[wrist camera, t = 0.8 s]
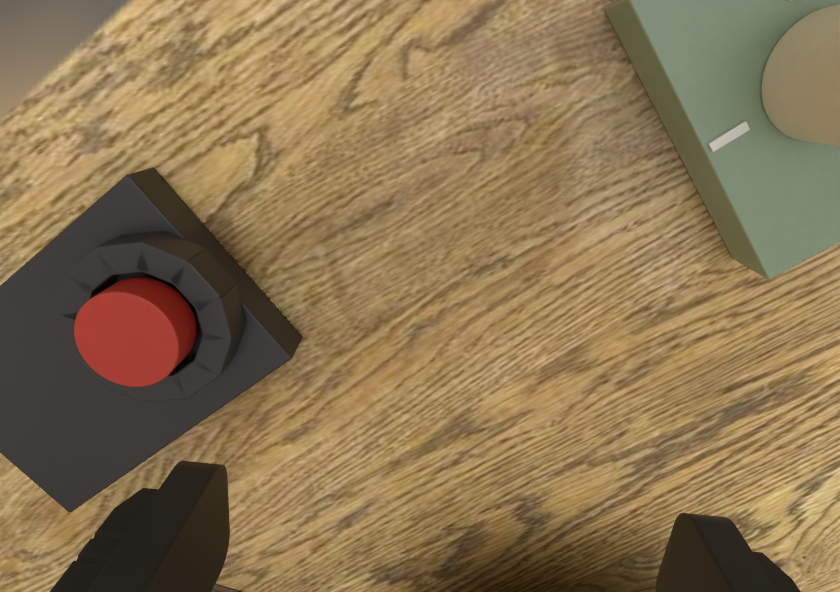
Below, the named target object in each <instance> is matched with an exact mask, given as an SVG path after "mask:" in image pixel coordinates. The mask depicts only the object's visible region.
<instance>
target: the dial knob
mask: <svg viewBox="0 0 840 592" xmlns="http://www.w3.org/2000/svg"><path fill="white" fill-rule="evenodd" d="M761 91H762V100H763V105H764V108H765V111H766V114H767V115H768V117H769V119H770V121H771V122H772V123H773V125H774V126H775V127H776V128H777V129H778V130H779V131H781V132H782V133H784V134H785V135H787V136H789V137H791V138H793V139H796V140H800V141H806V142H812V143H818V144H825V145H831V146H838V147H840V4H838V5H833V6H829V7H825V8H822V9H820V10H817V11H815V12H812V13H811V14H809V15H807V16H805V17H804V18H802V19H801V20H800V21H798V22H797V23H795V24H794V25H793V26H792V27H791V28H790V29H789V30H788V31H787V32H786V33H785V34H784V35H783V36H782V37H781V39H780V40H779V42H778V43H777V44H776V46H775V47H774V49H773V51H772V52H771V54H770V56H769V59H768V61H767V63H766V66H765V69H764V73H763V78H762V89H761Z"/></svg>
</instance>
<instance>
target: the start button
mask: <svg viewBox="0 0 840 592" xmlns="http://www.w3.org/2000/svg"><path fill="white" fill-rule="evenodd" d="M196 332H197V329H196V321H195V317H194V314H193V312H192V310H191V308H190V306H189V305H188V303H187V302H186V300H185V299H184V298H183V297H182V296H181V295H180V294H179V293H178V292H177V291H176V290H174V289H173V288H172V287H170V286H168V285H167V284H165V283H162V282H160V281H157V280H154V279H150V278H143V277H133V278H127V279H124V280H121V281H119V282H117V283H115V284H114V285H112V286H110V287H109V288H107V289H105V290H104V291H102V292H100V293H99V294H97V295H95V296H94V297H92V298H91V299H89V300H88V301H87V302H86V303H85V304H84V305H83V306H82V307H81V309H80V310H79V312H78V314H77V317H76V320H75V325H74V336H75V341H76V345H77V347H78V350H79V352H80V354H81V355H82V357H83V359H84V360H85V361H86V363H87V364H88V365H89V366H90V367H91V368H92V369H93V370H94V371H95V372H97V373H98V374H99V375H101V376H102V377H104V378H106V379H107V380H109V381H112V382H114V383H117V384H120V385H124V386H129V387H144V386H149V385H153V384H155V383H158V382H160V381H161V380H163V379H165V378H166V377H167V376H168V375H169V374H170V373H171V372H172V371H173V370H174V369H175V368H176V367H177V366H178V365H179V363H180V362H181V361H182V360H183V359H184V358H185V357H186V356H187V355H188V354H189V352H190V351H191V349H192V348H193V346H194V343H195V339H196Z"/></svg>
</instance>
